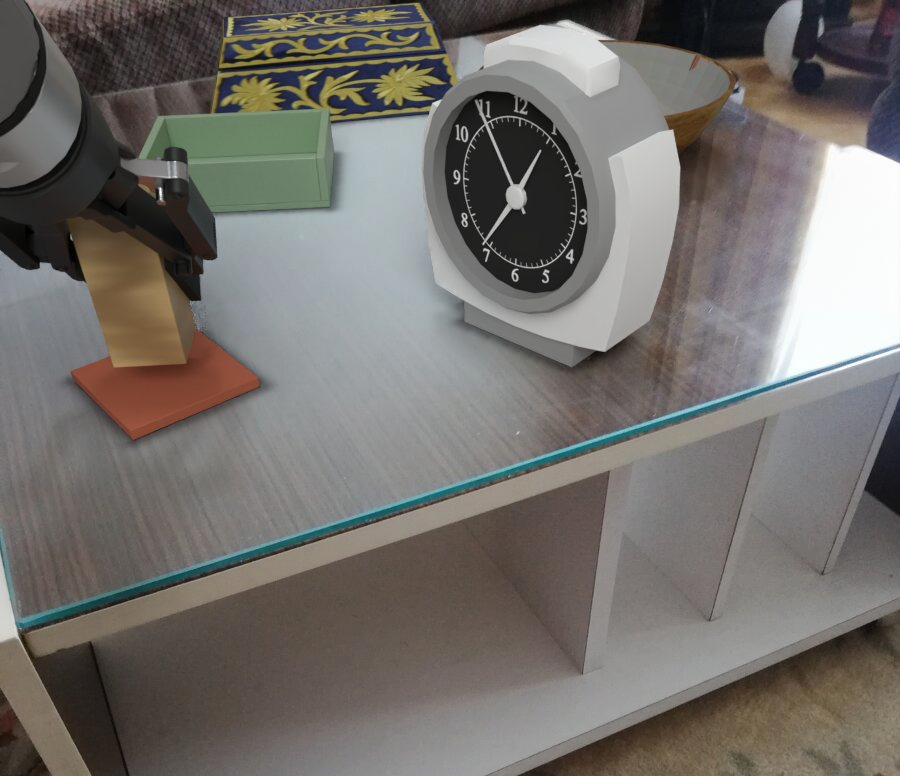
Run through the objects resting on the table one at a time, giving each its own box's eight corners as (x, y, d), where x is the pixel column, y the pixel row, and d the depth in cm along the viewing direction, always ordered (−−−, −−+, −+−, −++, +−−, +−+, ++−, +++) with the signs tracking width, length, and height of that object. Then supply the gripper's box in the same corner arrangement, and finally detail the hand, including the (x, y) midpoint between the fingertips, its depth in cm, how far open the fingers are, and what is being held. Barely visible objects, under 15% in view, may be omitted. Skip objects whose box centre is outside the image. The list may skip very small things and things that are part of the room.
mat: (73, 380, 68) (69, 370, 67) (194, 334, 72) (191, 324, 71) (133, 440, 62) (130, 430, 62) (260, 386, 66) (258, 377, 66)
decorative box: (468, 110, 107) (468, 21, 100) (208, 133, 103) (190, 43, 97) (451, 81, 114) (449, -3, 108) (207, 102, 111) (190, 16, 104)
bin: (146, 216, 88) (133, 166, 85) (168, 162, 97) (157, 115, 94) (330, 207, 88) (324, 157, 85) (334, 154, 98) (329, 108, 95)
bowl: (429, 152, 98) (425, 68, 92) (612, 104, 107) (619, 25, 101) (574, 235, 83) (581, 141, 77) (773, 171, 92) (793, 83, 86)
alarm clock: (416, 314, 73) (400, 24, 59) (485, 275, 78) (486, -4, 63) (601, 394, 65) (636, 78, 50) (667, 346, 69) (716, 42, 55)
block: (113, 368, 63) (61, 207, 55) (127, 331, 67) (79, 175, 59) (186, 364, 63) (144, 203, 55) (196, 327, 67) (158, 171, 59)
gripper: (-189, 205, 42) (30, 343, 65) (206, 185, 42) (284, 330, 66) (-200, 41, 42) (24, 238, 65) (196, 23, 42) (278, 225, 66)
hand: (154, 284), depth 65 cm, fingers closed on block, 5 cm apart
